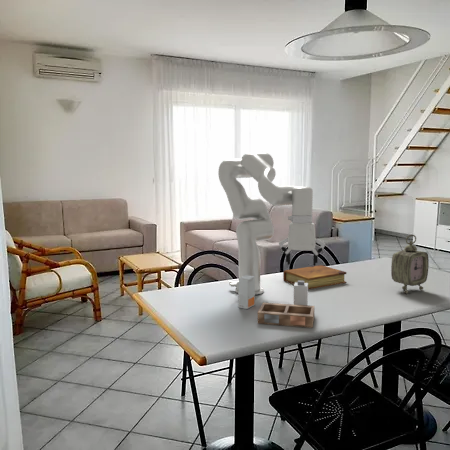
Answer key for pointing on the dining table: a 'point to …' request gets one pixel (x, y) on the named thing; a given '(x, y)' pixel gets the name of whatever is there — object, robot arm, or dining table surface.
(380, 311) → the dining table surface
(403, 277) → the tabletop clock
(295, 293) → the plug
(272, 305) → the socket block
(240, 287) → the skincare box
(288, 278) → the diary
